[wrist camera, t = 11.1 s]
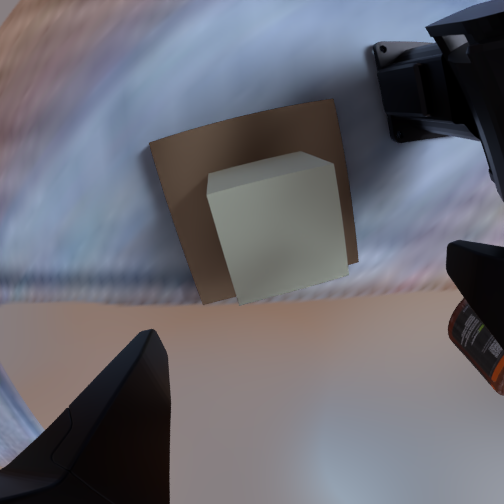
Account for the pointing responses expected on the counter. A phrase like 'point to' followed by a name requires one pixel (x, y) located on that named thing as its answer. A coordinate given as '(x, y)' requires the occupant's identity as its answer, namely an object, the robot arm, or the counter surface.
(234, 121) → the brown square tile
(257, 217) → the cube
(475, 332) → the supplement bottle
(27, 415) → the counter surface
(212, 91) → the counter surface
